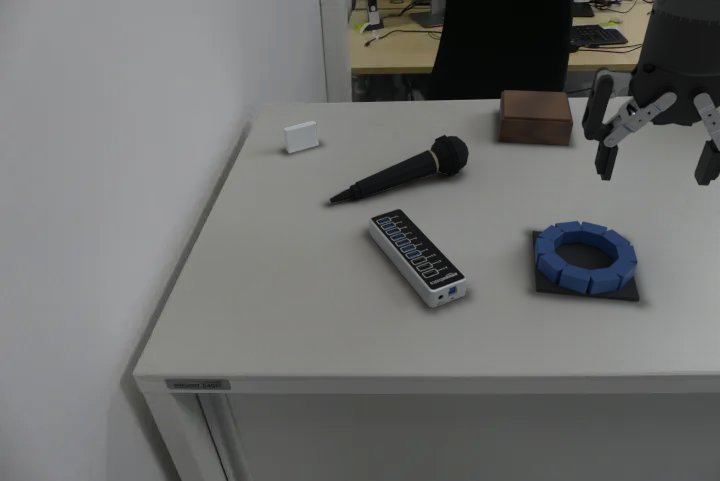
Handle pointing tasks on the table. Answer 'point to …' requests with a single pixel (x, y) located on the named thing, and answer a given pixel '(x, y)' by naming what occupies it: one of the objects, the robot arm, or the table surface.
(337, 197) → the microphone
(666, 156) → the table surface
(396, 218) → the multiport hub
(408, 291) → the table surface
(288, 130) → the eraser
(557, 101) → the platform
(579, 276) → the ring
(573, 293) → the mat
